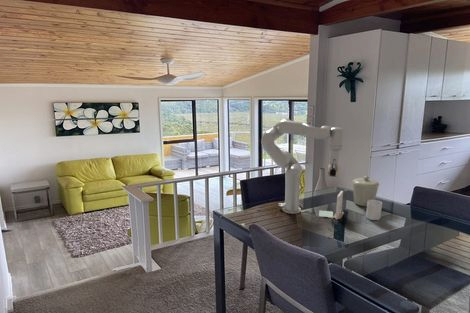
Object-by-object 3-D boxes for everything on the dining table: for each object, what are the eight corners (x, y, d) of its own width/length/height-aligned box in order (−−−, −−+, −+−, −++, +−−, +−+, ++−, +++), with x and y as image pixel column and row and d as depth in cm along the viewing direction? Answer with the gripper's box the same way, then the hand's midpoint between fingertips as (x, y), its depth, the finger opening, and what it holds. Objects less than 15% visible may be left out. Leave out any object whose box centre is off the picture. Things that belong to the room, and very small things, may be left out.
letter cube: (327, 176, 213) (328, 167, 212) (327, 173, 219) (328, 164, 217) (337, 177, 212) (338, 168, 210) (337, 174, 217) (338, 165, 216)
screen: (332, 218, 218) (334, 195, 213) (337, 212, 227) (338, 190, 223) (339, 220, 215) (341, 196, 211) (343, 213, 225) (345, 191, 220)
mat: (318, 216, 220) (318, 215, 220) (319, 211, 228) (319, 210, 228) (333, 218, 218) (333, 217, 218) (332, 212, 226) (332, 211, 226)
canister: (345, 203, 241) (348, 175, 236) (358, 197, 253) (360, 170, 247) (369, 211, 228) (372, 182, 223) (381, 204, 240) (385, 176, 234)
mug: (380, 222, 212) (382, 206, 209) (365, 219, 216) (366, 203, 213) (380, 214, 223) (382, 199, 220) (366, 212, 226) (368, 197, 224)
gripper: (329, 143, 219) (326, 169, 224) (329, 149, 203) (326, 177, 208) (341, 144, 217) (338, 170, 222) (342, 150, 201) (339, 179, 206)
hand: (332, 173), depth 215 cm, fingers closed on letter cube, 6 cm apart
